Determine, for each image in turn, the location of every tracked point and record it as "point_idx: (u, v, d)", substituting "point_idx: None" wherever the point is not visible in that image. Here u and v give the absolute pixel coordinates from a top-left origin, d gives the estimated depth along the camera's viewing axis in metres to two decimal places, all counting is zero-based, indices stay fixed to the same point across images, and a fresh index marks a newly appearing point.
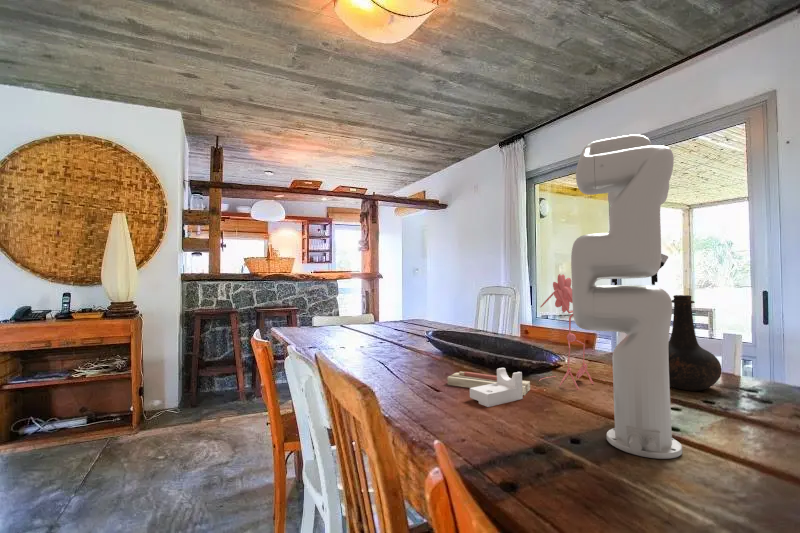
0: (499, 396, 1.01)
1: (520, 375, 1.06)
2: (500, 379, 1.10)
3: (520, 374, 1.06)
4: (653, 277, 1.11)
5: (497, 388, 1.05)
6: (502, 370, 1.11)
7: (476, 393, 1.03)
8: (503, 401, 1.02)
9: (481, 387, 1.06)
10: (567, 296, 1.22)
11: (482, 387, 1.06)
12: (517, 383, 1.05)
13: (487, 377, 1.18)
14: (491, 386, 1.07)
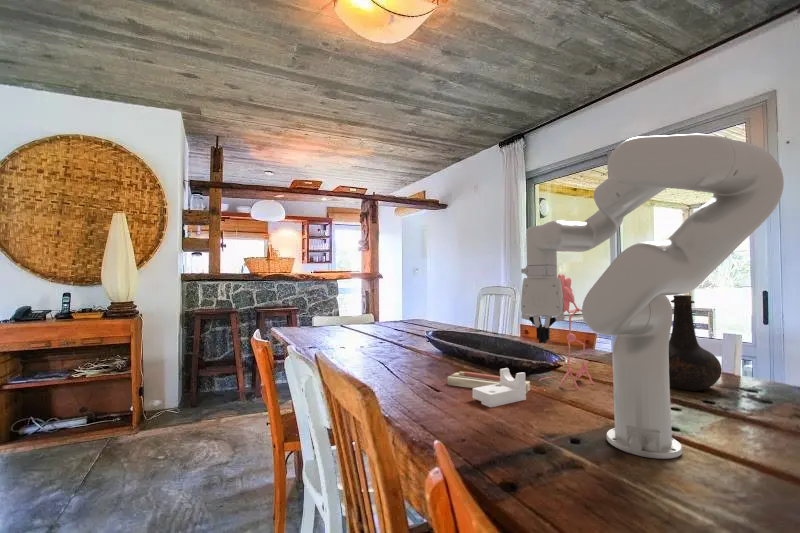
0: (502, 396, 1.01)
1: (523, 375, 1.05)
2: (503, 379, 1.09)
3: (523, 374, 1.05)
4: (543, 335, 0.98)
5: (500, 389, 1.04)
6: (505, 370, 1.10)
7: (479, 394, 1.03)
8: (506, 402, 1.02)
9: (484, 387, 1.06)
10: (567, 296, 1.22)
11: (485, 387, 1.06)
12: (520, 383, 1.05)
13: (487, 377, 1.18)
14: (494, 386, 1.06)
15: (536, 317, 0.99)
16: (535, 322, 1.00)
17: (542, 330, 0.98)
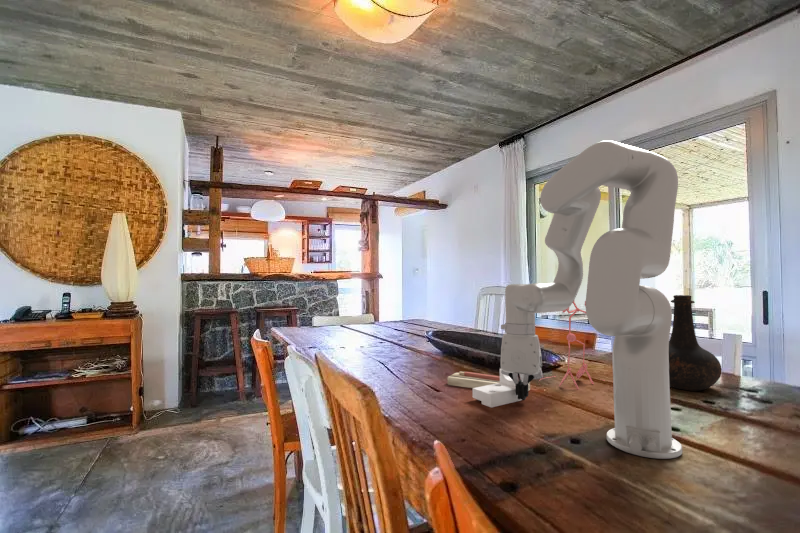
0: (502, 396, 1.01)
1: (523, 375, 1.05)
2: (503, 379, 1.09)
3: (523, 374, 1.05)
4: (522, 392, 1.00)
5: (500, 388, 1.04)
6: None
7: (479, 394, 1.03)
8: (506, 401, 1.02)
9: (483, 387, 1.06)
10: None
11: (485, 387, 1.06)
12: None
13: (487, 377, 1.18)
14: (494, 386, 1.06)
15: (515, 374, 1.02)
16: (514, 379, 1.02)
17: (521, 387, 1.01)
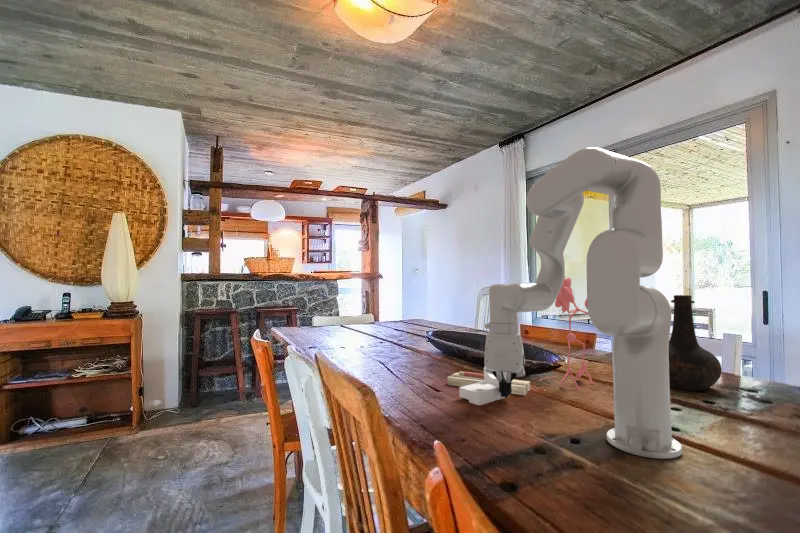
0: (489, 394, 1.03)
1: None
2: (487, 377, 1.12)
3: None
4: (505, 389, 1.03)
5: (486, 387, 1.06)
6: None
7: (466, 392, 1.04)
8: (492, 399, 1.04)
9: (470, 386, 1.08)
10: (567, 296, 1.22)
11: (471, 385, 1.08)
12: None
13: None
14: (479, 385, 1.09)
15: (498, 372, 1.04)
16: (497, 376, 1.04)
17: (504, 385, 1.03)
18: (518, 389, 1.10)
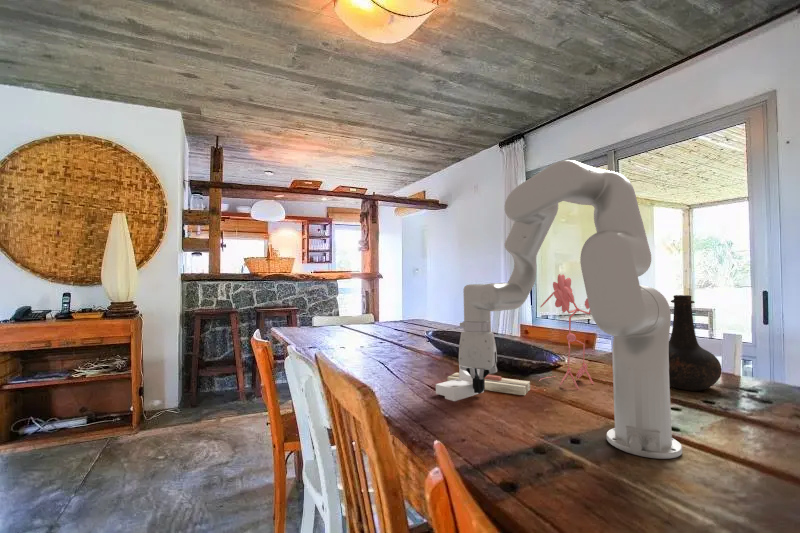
0: (464, 390, 1.07)
1: None
2: (463, 374, 1.16)
3: None
4: (478, 385, 1.07)
5: (461, 383, 1.10)
6: None
7: (442, 389, 1.08)
8: (467, 395, 1.08)
9: (446, 382, 1.11)
10: (567, 296, 1.22)
11: (447, 382, 1.11)
12: None
13: (487, 377, 1.18)
14: (455, 381, 1.12)
15: (472, 369, 1.08)
16: (471, 373, 1.08)
17: (477, 381, 1.07)
18: (518, 389, 1.10)
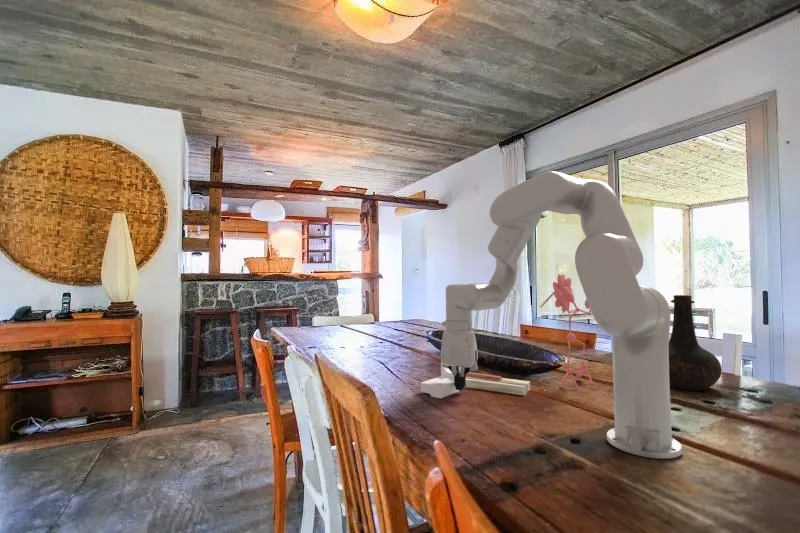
0: (448, 387, 1.10)
1: None
2: (444, 372, 1.19)
3: None
4: (459, 383, 1.10)
5: (444, 381, 1.13)
6: None
7: (428, 387, 1.10)
8: (451, 392, 1.11)
9: (430, 381, 1.14)
10: (567, 296, 1.22)
11: (431, 380, 1.14)
12: None
13: (487, 377, 1.18)
14: (438, 379, 1.15)
15: (453, 366, 1.11)
16: (452, 371, 1.11)
17: (458, 379, 1.10)
18: (518, 389, 1.10)
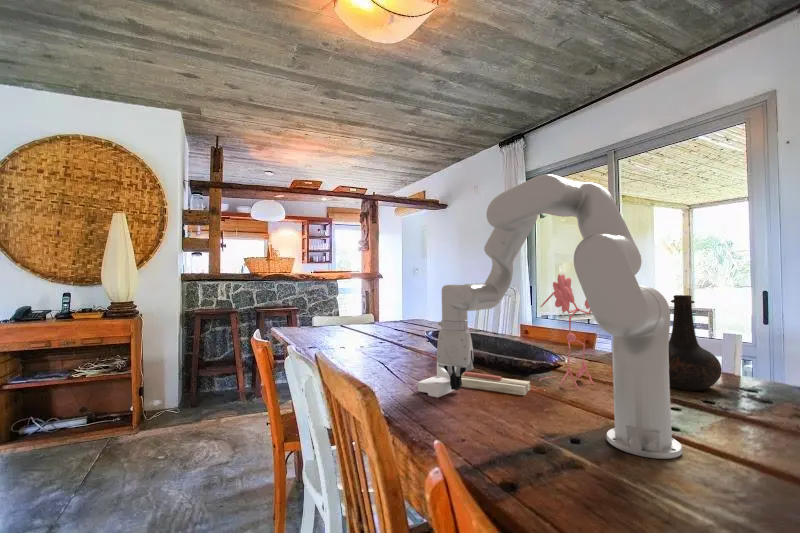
0: (445, 386, 1.11)
1: None
2: (440, 371, 1.20)
3: None
4: (455, 382, 1.10)
5: (441, 380, 1.14)
6: None
7: (425, 386, 1.11)
8: (448, 391, 1.12)
9: (427, 380, 1.15)
10: (567, 296, 1.22)
11: (427, 380, 1.15)
12: None
13: (487, 377, 1.18)
14: (435, 378, 1.16)
15: (449, 366, 1.12)
16: (448, 371, 1.12)
17: (454, 379, 1.10)
18: (518, 389, 1.10)
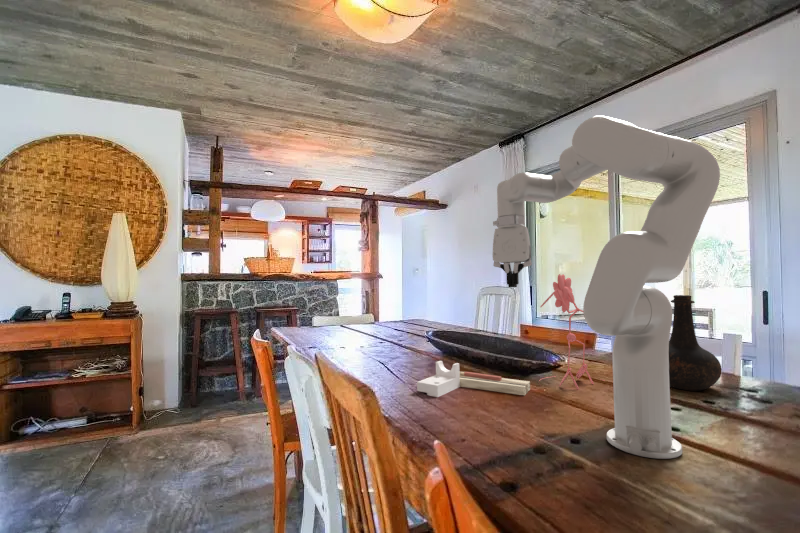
0: (445, 386, 1.12)
1: (458, 366, 1.18)
2: (439, 371, 1.20)
3: (458, 365, 1.18)
4: (512, 279, 1.08)
5: (440, 379, 1.15)
6: (440, 363, 1.22)
7: (424, 386, 1.11)
8: (447, 390, 1.13)
9: (426, 380, 1.15)
10: (567, 296, 1.22)
11: (427, 379, 1.15)
12: (456, 373, 1.17)
13: (487, 377, 1.18)
14: (434, 378, 1.16)
15: (506, 264, 1.09)
16: (505, 268, 1.09)
17: (512, 275, 1.08)
18: (518, 389, 1.10)
